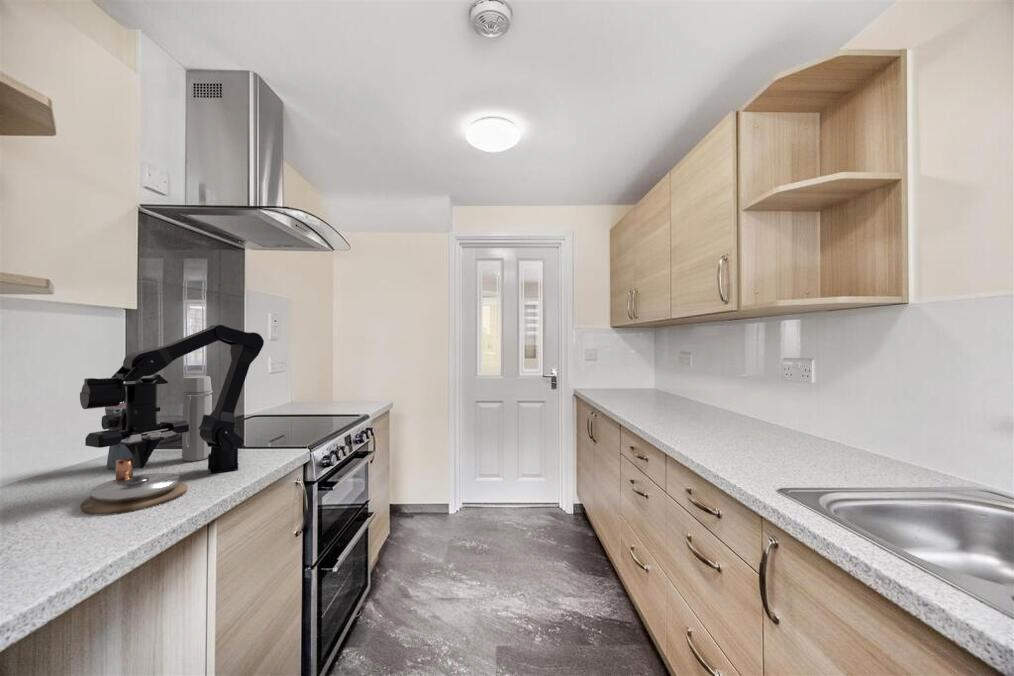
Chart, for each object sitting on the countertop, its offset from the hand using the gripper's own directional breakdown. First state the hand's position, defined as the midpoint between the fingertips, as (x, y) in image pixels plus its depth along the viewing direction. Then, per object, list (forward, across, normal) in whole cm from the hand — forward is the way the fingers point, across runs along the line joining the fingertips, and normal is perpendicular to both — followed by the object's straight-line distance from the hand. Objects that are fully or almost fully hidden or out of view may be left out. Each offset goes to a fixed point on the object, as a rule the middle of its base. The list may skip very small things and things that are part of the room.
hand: (140, 468), depth 101 cm
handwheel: (+4, +4, +6) cm, 8 cm away
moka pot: (+5, -11, -27) cm, 30 cm away
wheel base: (+5, +4, +6) cm, 9 cm away
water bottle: (+5, -22, -14) cm, 27 cm away
